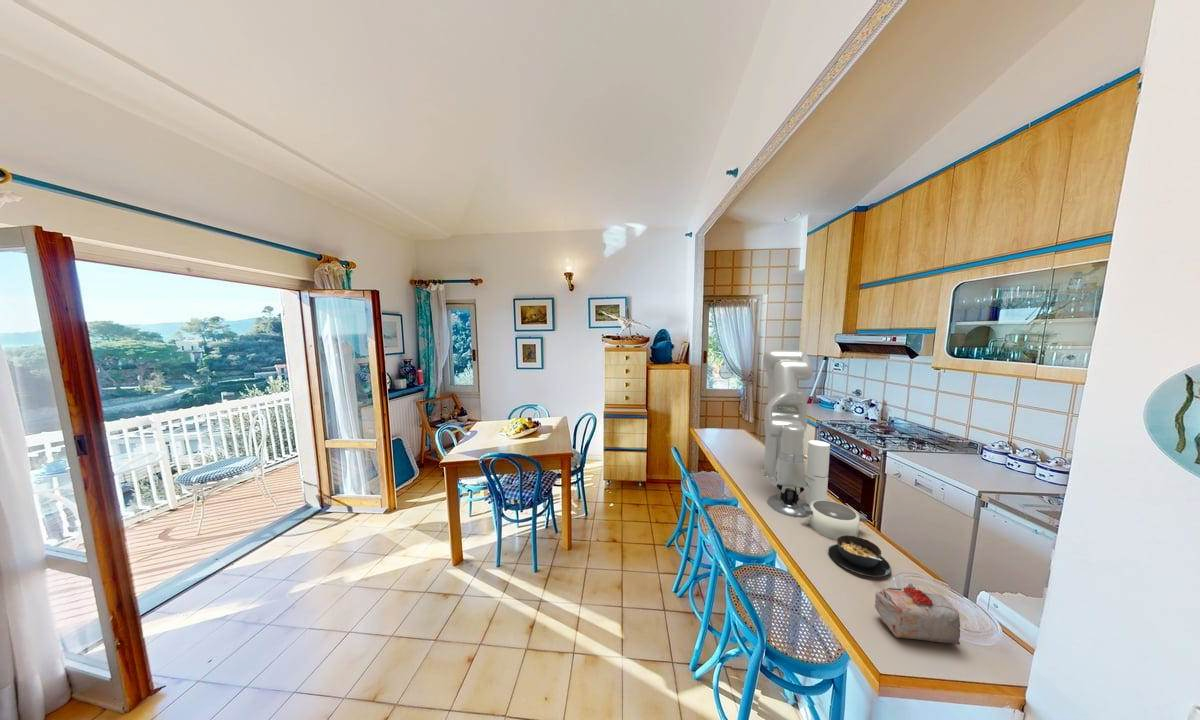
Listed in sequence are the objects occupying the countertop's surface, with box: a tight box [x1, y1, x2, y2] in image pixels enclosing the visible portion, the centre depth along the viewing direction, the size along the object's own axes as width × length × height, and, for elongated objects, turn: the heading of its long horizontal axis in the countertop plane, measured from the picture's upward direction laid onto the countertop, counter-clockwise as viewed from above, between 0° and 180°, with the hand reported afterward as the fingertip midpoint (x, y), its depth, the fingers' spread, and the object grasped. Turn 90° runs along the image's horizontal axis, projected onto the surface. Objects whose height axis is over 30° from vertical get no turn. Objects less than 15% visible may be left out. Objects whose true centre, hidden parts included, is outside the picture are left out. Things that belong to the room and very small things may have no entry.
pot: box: [803, 500, 868, 541], centre depth 116 cm, size 14×18×7 cm
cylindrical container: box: [804, 439, 831, 505], centre depth 132 cm, size 7×7×25 cm
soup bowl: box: [827, 535, 892, 578], centre depth 99 cm, size 15×16×7 cm
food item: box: [874, 583, 961, 645], centre depth 77 cm, size 14×8×10 cm, turn 81°
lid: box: [767, 487, 810, 518], centre depth 130 cm, size 15×15×7 cm
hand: (789, 501), depth 130 cm, fingers closed on lid, 3 cm apart
